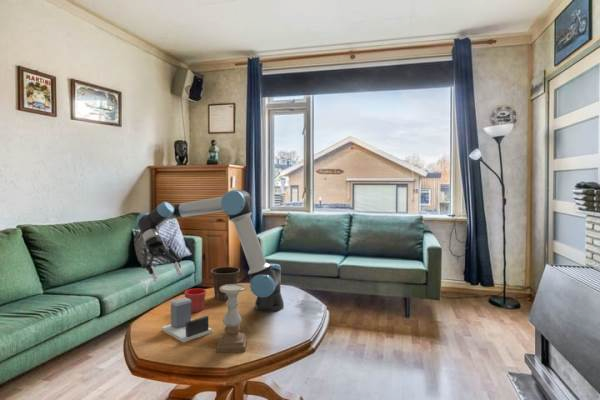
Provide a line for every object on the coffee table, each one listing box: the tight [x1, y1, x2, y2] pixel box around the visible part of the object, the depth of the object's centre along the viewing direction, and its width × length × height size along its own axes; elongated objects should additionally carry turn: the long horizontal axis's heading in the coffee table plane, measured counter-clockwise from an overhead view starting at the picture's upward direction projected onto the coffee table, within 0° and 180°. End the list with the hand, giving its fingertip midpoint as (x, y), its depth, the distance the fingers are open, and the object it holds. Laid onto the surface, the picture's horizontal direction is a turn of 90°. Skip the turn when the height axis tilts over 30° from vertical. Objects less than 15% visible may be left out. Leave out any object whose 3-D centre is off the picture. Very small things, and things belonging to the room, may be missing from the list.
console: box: [161, 315, 213, 343], centre depth 157 cm, size 18×14×8 cm
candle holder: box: [216, 283, 248, 354], centre depth 142 cm, size 11×11×24 cm
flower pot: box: [184, 288, 207, 313], centre depth 184 cm, size 11×11×10 cm
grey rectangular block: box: [170, 296, 192, 328], centre depth 160 cm, size 5×7×11 cm
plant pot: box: [210, 266, 241, 302], centre depth 204 cm, size 16×16×16 cm
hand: (168, 276), depth 167 cm, fingers open, 11 cm apart
